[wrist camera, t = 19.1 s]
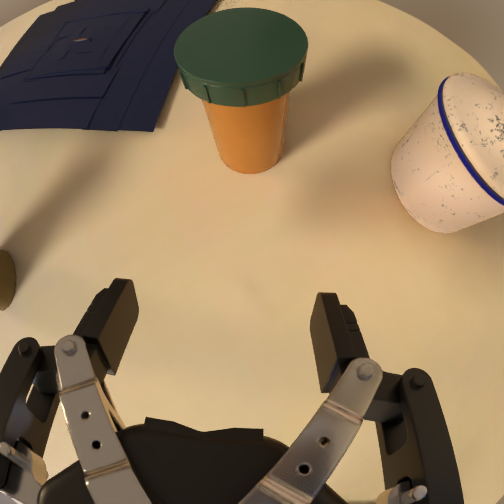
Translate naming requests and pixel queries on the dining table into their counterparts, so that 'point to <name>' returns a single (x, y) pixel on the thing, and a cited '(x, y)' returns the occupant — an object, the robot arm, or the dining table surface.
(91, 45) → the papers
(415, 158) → the teacup with lid
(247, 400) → the dining table surface
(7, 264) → the brown rounded tall piece
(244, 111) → the jar
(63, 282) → the dining table surface
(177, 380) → the dining table surface
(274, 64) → the lid
